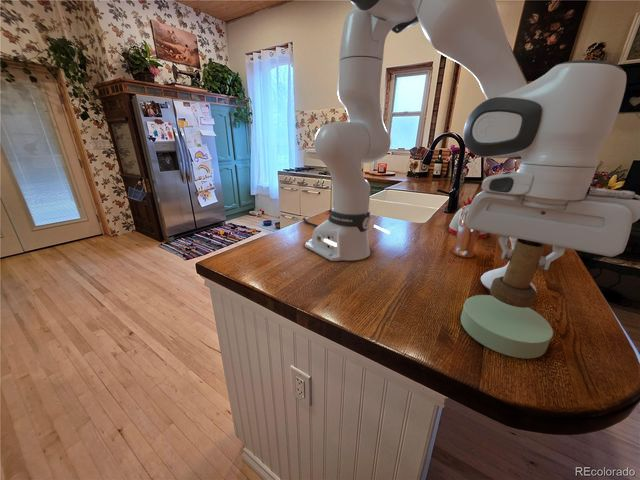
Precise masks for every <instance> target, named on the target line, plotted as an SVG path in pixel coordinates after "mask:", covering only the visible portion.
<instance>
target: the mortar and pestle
mask: <svg viewBox="0 0 640 480" xmlns="http://www.w3.org/2000/svg"><path fill="white" fill-rule="evenodd" d="M545 213H546V212H545V211H542V212H541V214H542V215H545ZM546 245H547V244H543V243H538V242H533V241H528V240H523V239H517V241H516V244H515V247H514V250H513V254H512V257H511V261H508V262H509V264H508V263H507V264H508V267H507V269H506V272H505V275H504V276H502V277H498V278H495V279H494V280H493V282H492V285H491V287H490V290H489V293H490V294H491V296H494V297H495V298H496V299H498V300H499V301H501V302H503V303H505V304H508V305H511V306H515V307H520V308H527V307H528V308H530V307H532V306H533V304H534V302H535V299H536V297H537V294H536V291H537V290H536V291H535V290H534V289H533V287H532V286H531V285H530V283H531V282H533V281H532V280H533V278H534V276H535V272H536V271H537V268H536V267H537V265H538V262H539V259H540V258H541V256H543V254H544V251H545V250H546V247H547V246H546Z"/></svg>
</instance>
